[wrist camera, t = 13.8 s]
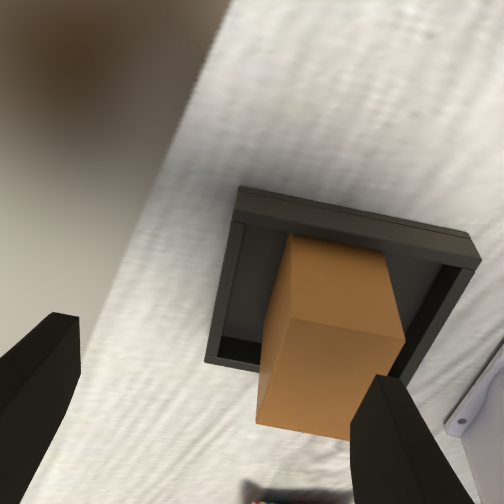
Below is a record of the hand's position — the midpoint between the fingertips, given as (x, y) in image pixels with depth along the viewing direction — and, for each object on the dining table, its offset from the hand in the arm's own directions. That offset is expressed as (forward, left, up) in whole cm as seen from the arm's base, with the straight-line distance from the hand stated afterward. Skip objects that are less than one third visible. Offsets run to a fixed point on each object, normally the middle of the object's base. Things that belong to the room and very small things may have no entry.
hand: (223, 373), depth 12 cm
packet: (-4, -4, -10) cm, 12 cm away
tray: (-5, -4, -10) cm, 12 cm away
